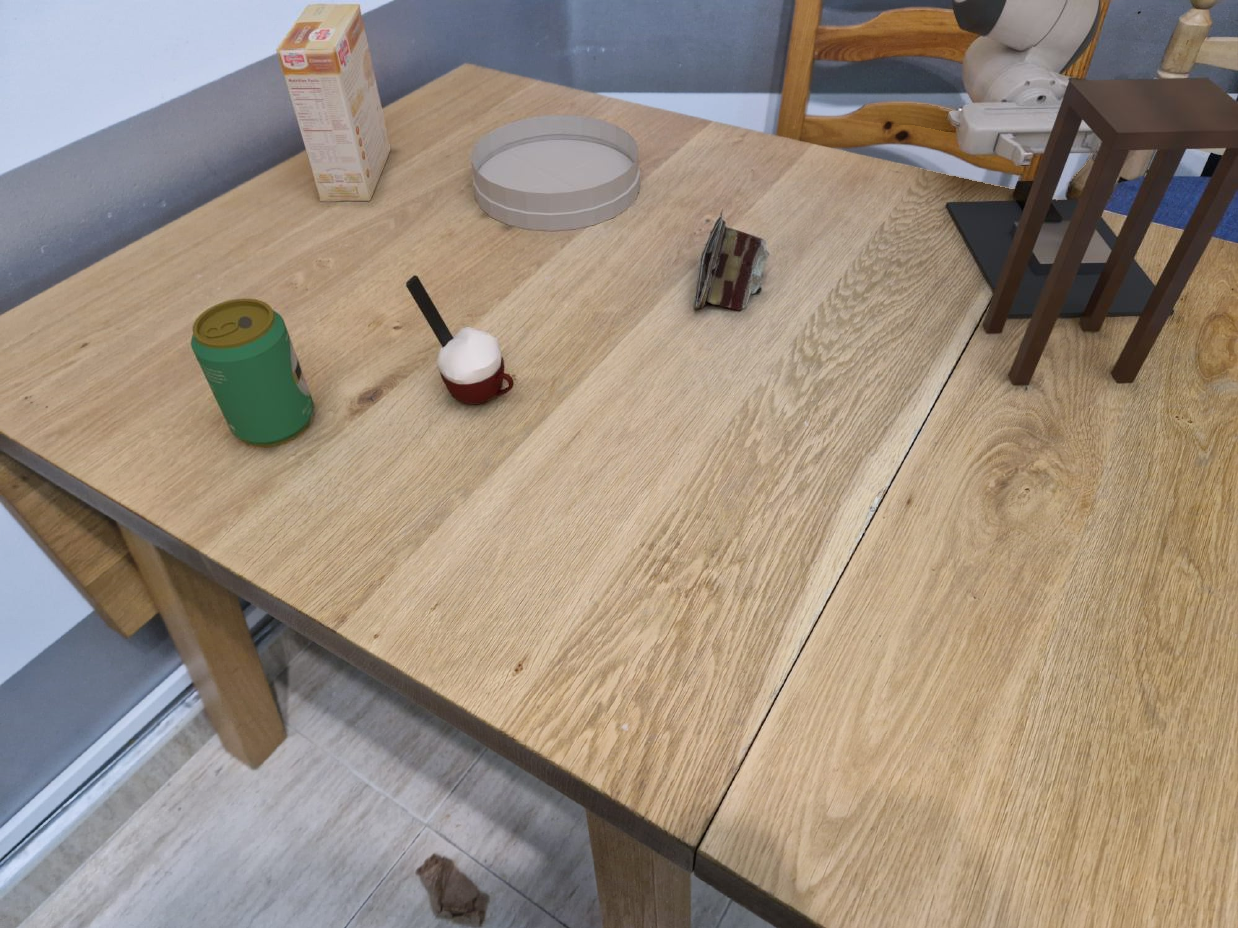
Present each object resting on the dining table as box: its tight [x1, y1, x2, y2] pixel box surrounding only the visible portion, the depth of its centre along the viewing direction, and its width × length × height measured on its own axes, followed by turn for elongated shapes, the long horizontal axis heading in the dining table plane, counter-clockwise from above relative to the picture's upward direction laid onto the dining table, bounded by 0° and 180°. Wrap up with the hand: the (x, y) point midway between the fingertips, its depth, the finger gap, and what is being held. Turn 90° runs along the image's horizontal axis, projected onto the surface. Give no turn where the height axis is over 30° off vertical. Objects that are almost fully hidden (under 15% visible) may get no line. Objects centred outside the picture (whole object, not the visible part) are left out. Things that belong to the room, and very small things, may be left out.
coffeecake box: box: [275, 3, 392, 202], centre depth 112 cm, size 15×7×20 cm, turn 0°
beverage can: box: [190, 298, 315, 448], centre depth 80 cm, size 8×8×12 cm
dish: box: [470, 114, 641, 232], centre depth 113 cm, size 22×22×5 cm
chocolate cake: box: [692, 208, 771, 311], centre depth 98 cm, size 10×7×12 cm
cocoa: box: [405, 274, 515, 405], centre depth 82 cm, size 10×6×12 cm, turn 40°
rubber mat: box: [945, 198, 1175, 319], centre depth 102 cm, size 18×24×1 cm
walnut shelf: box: [982, 77, 1238, 386], centre depth 80 cm, size 12×10×26 cm
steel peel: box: [1010, 180, 1111, 275], centre depth 104 cm, size 9×18×2 cm, turn 1°
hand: (1066, 159), depth 100 cm, fingers open, 8 cm apart
